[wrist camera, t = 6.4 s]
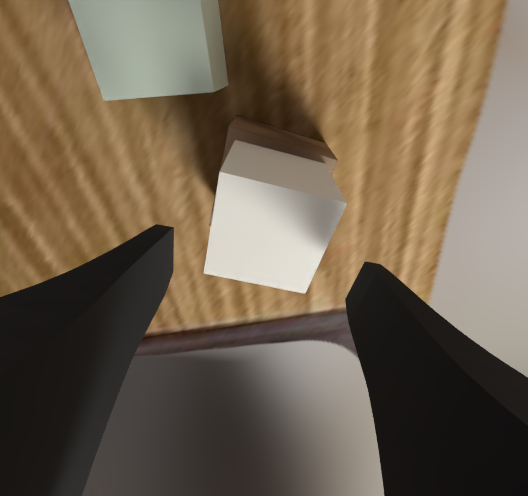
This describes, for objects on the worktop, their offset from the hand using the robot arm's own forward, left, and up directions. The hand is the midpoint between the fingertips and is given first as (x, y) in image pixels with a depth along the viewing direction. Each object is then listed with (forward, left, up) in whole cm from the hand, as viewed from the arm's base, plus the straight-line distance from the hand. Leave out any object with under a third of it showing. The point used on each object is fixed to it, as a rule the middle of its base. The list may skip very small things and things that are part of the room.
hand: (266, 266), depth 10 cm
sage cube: (-6, +6, -10) cm, 14 cm away
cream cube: (0, 0, -7) cm, 7 cm away
